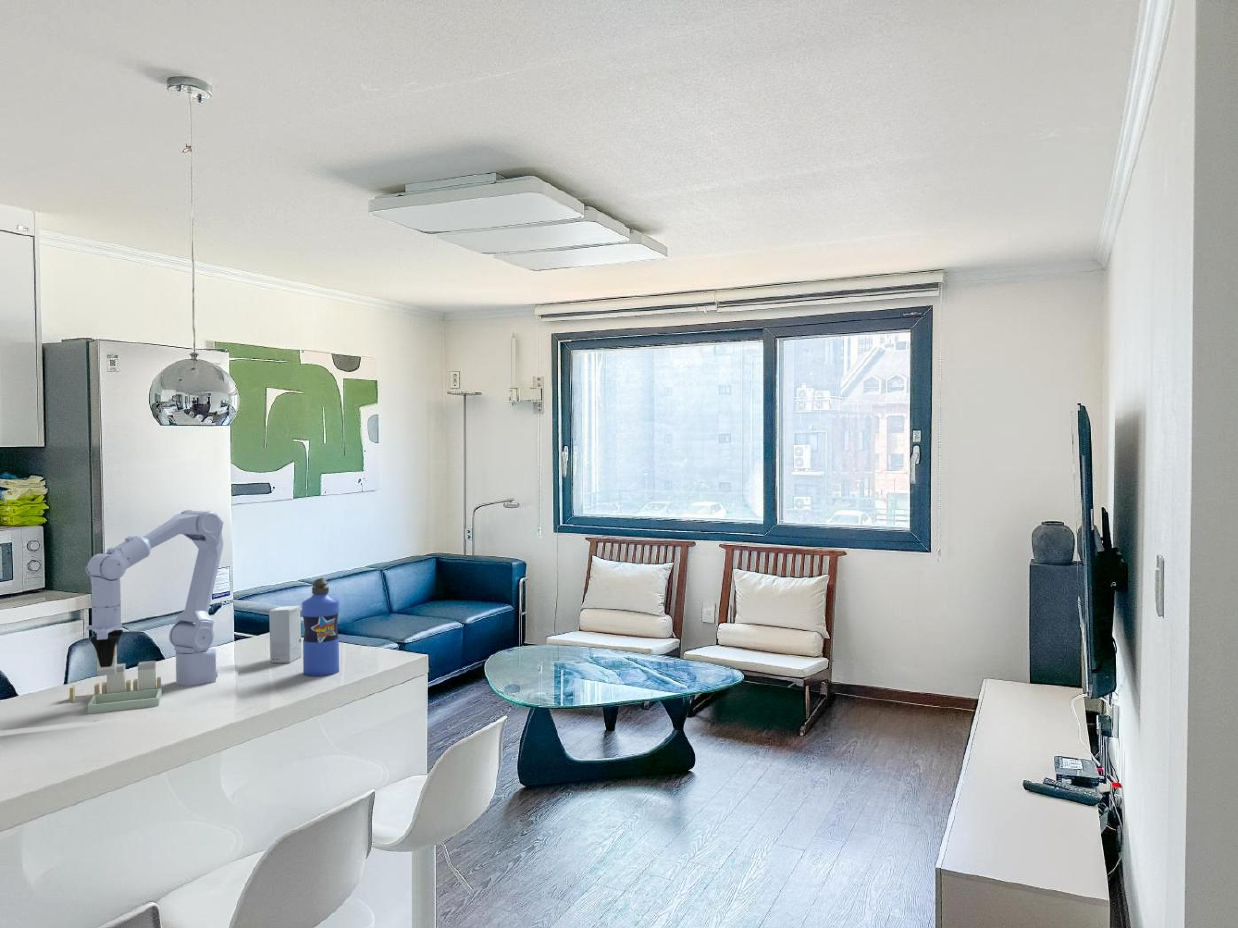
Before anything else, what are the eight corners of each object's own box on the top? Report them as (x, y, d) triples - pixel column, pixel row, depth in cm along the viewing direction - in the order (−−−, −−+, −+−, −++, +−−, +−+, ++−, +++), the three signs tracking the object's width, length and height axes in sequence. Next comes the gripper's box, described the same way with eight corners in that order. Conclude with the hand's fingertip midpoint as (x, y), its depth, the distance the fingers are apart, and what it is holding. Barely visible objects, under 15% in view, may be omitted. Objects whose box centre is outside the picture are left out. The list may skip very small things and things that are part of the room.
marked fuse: (117, 670, 204) (116, 640, 204) (114, 674, 201) (114, 643, 201) (99, 672, 203) (99, 642, 203) (97, 675, 200) (96, 645, 199)
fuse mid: (125, 692, 211) (125, 663, 211) (124, 695, 208) (123, 666, 208) (108, 693, 210) (108, 664, 210) (106, 697, 207) (106, 668, 206)
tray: (161, 699, 208) (161, 688, 208) (158, 709, 200) (158, 698, 200) (93, 706, 203) (93, 695, 203) (87, 717, 194) (87, 705, 194)
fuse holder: (164, 691, 216) (164, 674, 216) (162, 697, 210) (162, 680, 210) (69, 700, 208) (69, 683, 208) (65, 707, 202) (65, 690, 202)
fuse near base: (156, 689, 214) (155, 660, 214) (154, 692, 211) (154, 663, 210) (139, 690, 212) (139, 662, 212) (138, 694, 209) (137, 665, 209)
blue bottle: (344, 673, 232) (343, 579, 231) (308, 678, 227) (307, 582, 226) (333, 666, 240) (332, 575, 239) (298, 671, 234) (297, 578, 234)
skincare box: (290, 663, 243) (289, 610, 243) (268, 663, 243) (268, 610, 243) (302, 656, 251) (301, 604, 251) (281, 656, 252) (281, 604, 251)
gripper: (91, 602, 207) (92, 659, 207) (80, 612, 193) (81, 673, 194) (125, 599, 209) (126, 656, 210) (117, 610, 196) (118, 670, 196)
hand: (107, 664), depth 202 cm, fingers closed on marked fuse, 3 cm apart
